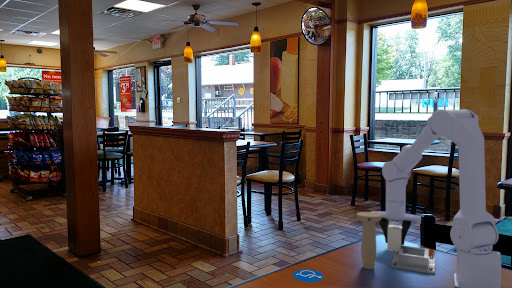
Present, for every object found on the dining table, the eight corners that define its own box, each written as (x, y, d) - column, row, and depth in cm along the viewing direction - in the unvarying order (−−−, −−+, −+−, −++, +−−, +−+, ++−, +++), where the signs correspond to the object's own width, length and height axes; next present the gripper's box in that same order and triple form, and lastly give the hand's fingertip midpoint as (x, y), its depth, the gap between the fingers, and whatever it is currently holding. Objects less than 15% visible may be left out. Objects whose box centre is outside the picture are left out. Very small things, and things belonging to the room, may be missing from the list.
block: (402, 247, 120) (402, 226, 120) (401, 252, 117) (401, 229, 116) (388, 246, 122) (389, 224, 122) (387, 250, 119) (387, 228, 118)
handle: (381, 272, 102) (382, 217, 101) (356, 270, 104) (357, 215, 103) (380, 265, 107) (380, 212, 106) (356, 263, 109) (356, 211, 107)
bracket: (435, 259, 111) (435, 247, 110) (434, 274, 101) (435, 261, 100) (394, 254, 115) (395, 242, 115) (390, 267, 105) (390, 255, 105)
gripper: (421, 199, 119) (420, 242, 120) (373, 195, 125) (372, 236, 126) (420, 204, 112) (419, 249, 114) (369, 200, 119) (369, 242, 120)
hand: (394, 243), depth 119 cm, fingers closed on block, 4 cm apart
